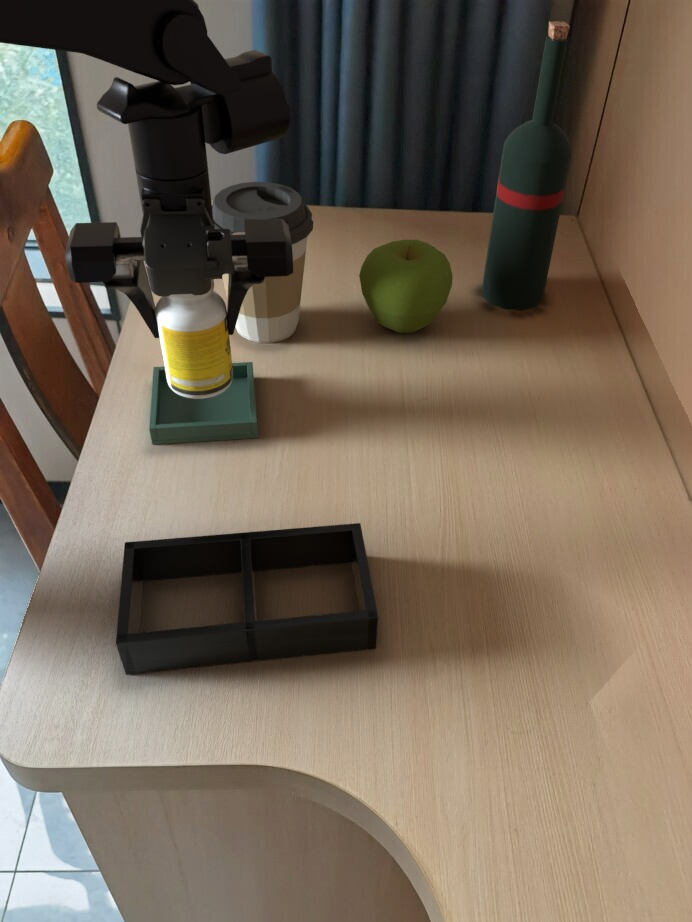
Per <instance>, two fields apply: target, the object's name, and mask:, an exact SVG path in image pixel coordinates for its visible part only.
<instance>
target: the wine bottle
mask: <svg viewBox="0 0 692 922" xmlns="http://www.w3.org/2000/svg"><path fill="white" fill-rule="evenodd" d="M570 28H571V25H569V23H567V22H566V21H548V35H546V36H545V41H544V42H545V43H544V49H543V53H542V59H541V66H540V73H539V77H538V84H537V88H536V89H537V90H536V95H535V101H534V108H533V113H532V119H530V120H527V121H525V122H524V123H522V124H520V125H518V126H517V127H515V128H514V129H513V130H512V131H511V132H510V133H509V134H508V136H507V137H506V139H505V140H504V142H503V148H502V154H501V161H500V168H499V172H498V179H497V186H496V193H495V200H494V205H493V212H492V219H491V226H490V232H489V239H488V245H487V251H486V258H485V264H484V270H483V278H482V284H481V296H482V298H483V299H484V300H486V302H488V303H489V304H490V305H492V306H494V307H497V308H501V309H502V310H508V311H509V310H510V311H526V310H530V309H534V308H537V306H539V305H540V304H541V303H542V302H543V301H544V296H545V291H546V287H547V286H546V285H547V281H548V277H549V271H550V265H551V261H552V255H553V251H554V245H555V240H556V236H557V230H558V226H559V220H560V215H561V210H562V207H563V201H564V195H565V191H566V190H565V189H566V185H567V180H568V175H569V170H570V165H571V160H572V150H571V145H570V141H569V140H570V139H569V138H568V136H567V134H566V131H564V130H563V129H562V128H561V127H560V126H559V125H557V124H556V123H555V122H554V117H555V112H556V107H557V102H558V95H559V91H560V84H561V81H562V80H561V79H562V74H563V68H564V62H565V58H566V52H567V46H568V42H569V39H568V34H569V31H570Z"/></svg>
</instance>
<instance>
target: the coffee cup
mask: <svg viewBox="0 0 692 922" xmlns="http://www.w3.org/2000/svg"><path fill="white" fill-rule="evenodd" d="M212 212H213V222H214V226H215V229H229V230H230V235H232V234H233V233H236V232H245V225H244V220H246V219H283V220H284V221H285V222H286V224H287V225H288V226H289V231H290V237H291V243H292V252H293V273H292V274H290V275H289V276H278V277H265V280H264V282H263V283H261V284H254V285H252V286H251V287H250V288H249V290H248V291H247V293H246V296H245V298H244V300H243V302H242V306H241V309H240V312H239V316H238V319H237V323H236V326H235V329H236V331H237V334H238V335H240V336H241V337H242V338H244V339H245V340H247V341H250V342H254V343H258V344H272V343H277V342H281V341H284V340H287V339H288V338H290V337H291V336H293V335H294V333H295V332H296V330H297V325H298V324H299V319H300V311H301V301H302V291H303V283H304V282H303V281H304V274H305V273H304V272H305V263H306V254H307V246H308V245H307V244H308V237H309V235H310V234H311V233H312V232H313V230H314V220H313V212H312V211H311V210H310V208H309V207H308V205H307V204H305V203H304V199H303V197H302V195H301V193H299V192H297V191H296V190H295V189H293V188H292V187H290V186H287V185H283V184H281V183H276V182H270V181H248V182H240V183H236V184H232V185H229V186H227V187H225V188H223V189H221V190H219V192H217V193H216V194H215V195H214V196H213V200H212ZM228 280H229V274H223V275H222V282H223V286H224V290H225V295H226V299H227V300H228Z"/></svg>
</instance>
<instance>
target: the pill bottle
mask: <svg viewBox="0 0 692 922" xmlns="http://www.w3.org/2000/svg"><path fill="white" fill-rule="evenodd" d="M214 289H215V279H211V289H210V291H209V292H208V293H206V294H203V295H193V294H174V295H170V296H160V298H159V299H158V301H157V302H156V304H155V307H156V308H155V315H156V321H157V327H158V332H159V338H158V339H159V343H160V349H161V354H162V359H163V367H164V366H165V372H166V378H167V382H168V385H169V387H170V388H171V389H172V390H173V391H174V392H175V393H177V394H178V395H180V396H183V397H186V398H192V399H204V398H210V397H214V396H216V395H219V394H221V393H222V392H224V391H225V390H226V389H227V388H228V387H229V386H230V385H231V383H232V380H233V366H232V363H233V358H232V348H231V340H230V335H229V333H228V322H227V304H226V302H225V300H224V299H223V298H222V296H221V295H220V294H219V293H217V292H216V291H215V290H214Z"/></svg>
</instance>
